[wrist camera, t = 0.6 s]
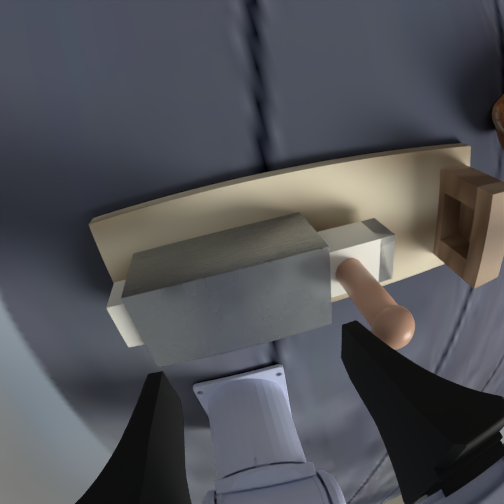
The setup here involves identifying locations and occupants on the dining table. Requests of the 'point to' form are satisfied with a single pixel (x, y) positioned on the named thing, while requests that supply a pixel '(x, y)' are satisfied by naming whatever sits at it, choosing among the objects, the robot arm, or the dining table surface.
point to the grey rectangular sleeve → (229, 289)
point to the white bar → (335, 282)
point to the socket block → (470, 224)
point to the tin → (499, 119)
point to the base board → (298, 206)
